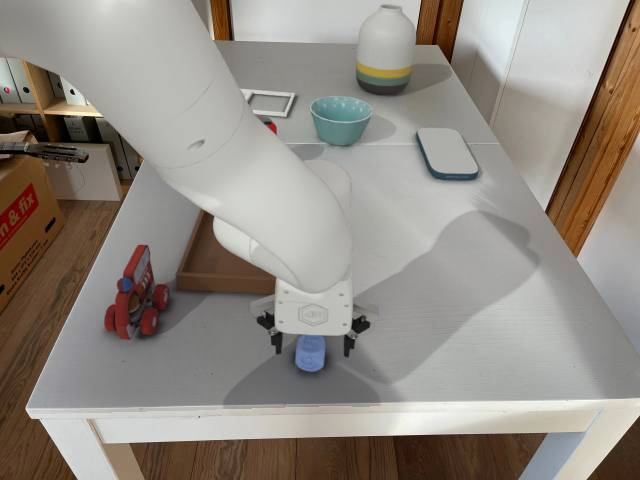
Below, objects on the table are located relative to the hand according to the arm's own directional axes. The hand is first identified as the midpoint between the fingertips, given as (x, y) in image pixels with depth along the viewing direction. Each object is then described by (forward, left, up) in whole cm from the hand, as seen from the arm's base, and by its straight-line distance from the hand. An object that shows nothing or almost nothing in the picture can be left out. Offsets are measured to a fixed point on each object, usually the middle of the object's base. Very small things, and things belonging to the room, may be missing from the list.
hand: (312, 348), depth 71 cm
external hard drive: (+64, -30, -3) cm, 70 cm away
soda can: (+53, +14, -3) cm, 55 cm away
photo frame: (+90, +19, -3) cm, 92 cm away
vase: (+106, -17, -3) cm, 107 cm away
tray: (+27, +14, -3) cm, 30 cm away
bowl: (+71, -4, -3) cm, 71 cm away
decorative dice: (0, 0, -3) cm, 3 cm away
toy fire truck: (+6, +27, -3) cm, 28 cm away
